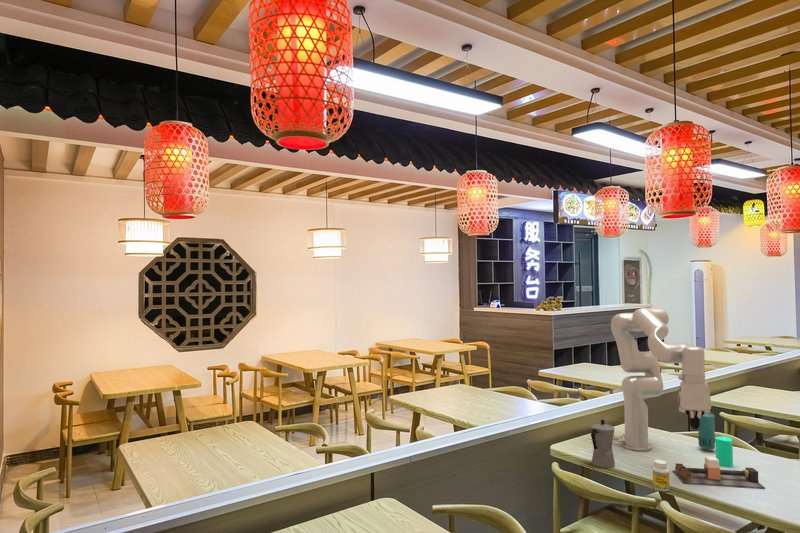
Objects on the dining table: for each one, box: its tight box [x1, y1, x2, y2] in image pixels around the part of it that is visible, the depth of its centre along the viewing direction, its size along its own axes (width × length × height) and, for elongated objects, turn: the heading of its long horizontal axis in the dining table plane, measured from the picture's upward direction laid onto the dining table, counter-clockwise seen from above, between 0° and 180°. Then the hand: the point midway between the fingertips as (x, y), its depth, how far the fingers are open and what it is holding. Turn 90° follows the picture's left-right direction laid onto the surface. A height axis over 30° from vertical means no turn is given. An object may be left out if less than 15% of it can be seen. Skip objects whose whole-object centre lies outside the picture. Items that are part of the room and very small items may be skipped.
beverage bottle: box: [697, 407, 716, 450], centre depth 224 cm, size 6×7×20 cm
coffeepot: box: [590, 419, 616, 469], centre depth 207 cm, size 15×9×18 cm, turn 131°
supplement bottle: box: [652, 459, 671, 492], centre depth 184 cm, size 5×5×10 cm
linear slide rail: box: [672, 462, 766, 490], centre depth 192 cm, size 27×12×5 cm, turn 80°
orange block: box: [703, 456, 721, 480], centre depth 192 cm, size 4×4×7 cm
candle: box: [715, 436, 734, 468], centre depth 208 cm, size 6×6×12 cm
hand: (694, 428), depth 193 cm, fingers closed
